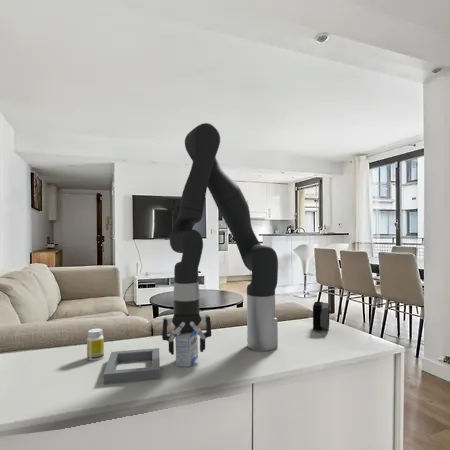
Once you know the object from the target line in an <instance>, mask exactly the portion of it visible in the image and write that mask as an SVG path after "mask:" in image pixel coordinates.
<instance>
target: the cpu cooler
mask: <svg viewBox="0 0 450 450" xmlns="http://www.w3.org/2000/svg"><path fill="white" fill-rule="evenodd" d="M312 329H313V331H321V332H322V331H325V332H329V331H330V303H329V302H323V301H315V302H314V303H313V304H312Z"/></svg>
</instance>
